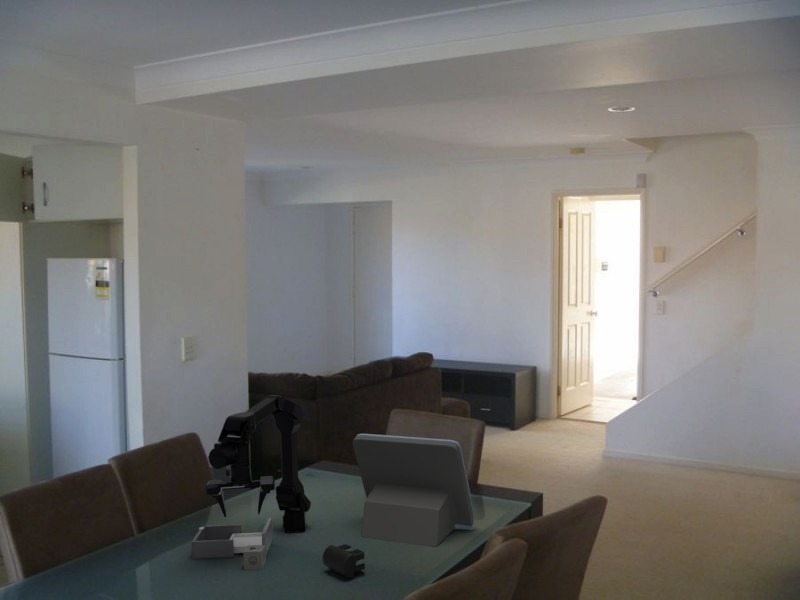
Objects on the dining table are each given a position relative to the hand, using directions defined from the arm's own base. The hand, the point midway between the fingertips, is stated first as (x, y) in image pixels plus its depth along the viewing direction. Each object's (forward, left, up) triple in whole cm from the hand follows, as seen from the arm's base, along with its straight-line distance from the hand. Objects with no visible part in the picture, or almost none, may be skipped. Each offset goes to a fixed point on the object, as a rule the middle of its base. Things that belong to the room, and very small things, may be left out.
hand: (242, 515), depth 225 cm
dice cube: (-4, +5, -13) cm, 14 cm away
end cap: (-29, +13, -13) cm, 34 cm away
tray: (0, -9, -13) cm, 16 cm away
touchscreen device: (-48, -18, -13) cm, 53 cm away
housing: (+9, -9, -13) cm, 18 cm away
